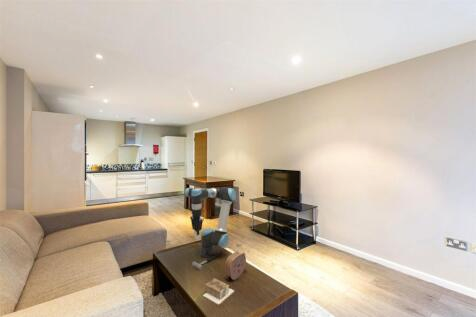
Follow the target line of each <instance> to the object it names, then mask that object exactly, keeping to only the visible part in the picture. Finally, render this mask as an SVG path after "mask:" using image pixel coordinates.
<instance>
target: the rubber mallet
mask: <svg viewBox="0 0 476 317" xmlns="http://www.w3.org/2000/svg"><path fill="white" fill-rule="evenodd" d="M221 256H223V252H221V251H220V252H218V253H217V254H216V253H215V255H214V256H212V257H209V258H207V259H205V260H203V261H201V262H199V263H198V262H196V261H193V262H192V264H191V266H192V267H193V268H195V269H197V270H199V271H201V270H203V265H204V264H206V263H208V262H210V261H213V260H215V259H217V258H218V257H221Z"/></svg>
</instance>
